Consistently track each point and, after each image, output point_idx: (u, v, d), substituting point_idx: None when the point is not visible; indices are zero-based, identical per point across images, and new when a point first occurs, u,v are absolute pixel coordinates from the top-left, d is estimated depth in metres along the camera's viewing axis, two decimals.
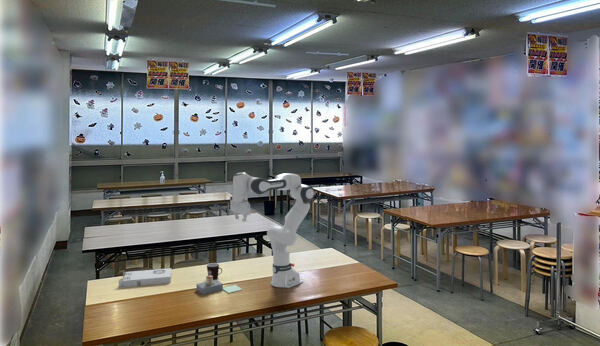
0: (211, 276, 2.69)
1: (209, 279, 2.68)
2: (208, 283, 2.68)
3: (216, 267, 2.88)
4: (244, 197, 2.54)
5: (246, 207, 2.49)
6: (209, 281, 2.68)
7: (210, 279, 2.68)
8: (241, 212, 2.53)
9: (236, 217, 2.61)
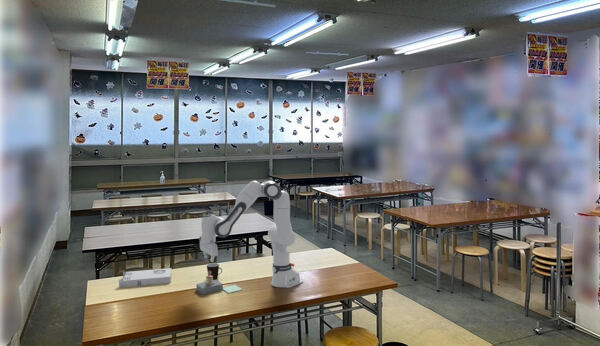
0: (211, 276, 2.69)
1: (209, 279, 2.68)
2: (208, 283, 2.68)
3: (216, 267, 2.88)
4: (212, 238, 2.64)
5: (213, 249, 2.59)
6: (209, 281, 2.68)
7: (210, 279, 2.68)
8: (209, 253, 2.63)
9: (205, 256, 2.71)
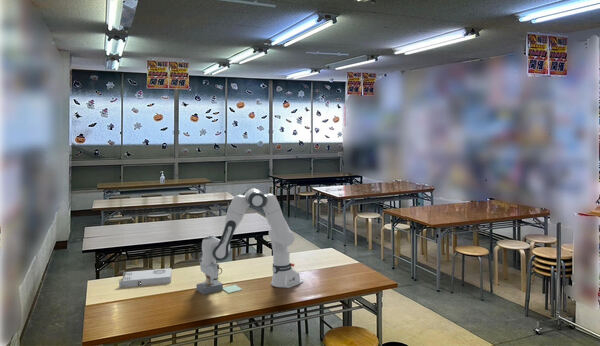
0: None
1: (209, 279, 2.68)
2: (208, 283, 2.68)
3: None
4: (212, 260, 2.65)
5: (214, 271, 2.60)
6: (209, 281, 2.68)
7: None
8: (209, 275, 2.64)
9: None
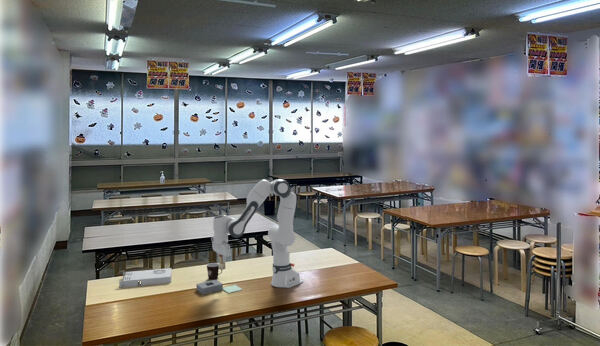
0: None
1: (221, 258, 2.67)
2: (221, 262, 2.67)
3: (216, 267, 2.88)
4: (224, 239, 2.64)
5: (226, 249, 2.60)
6: None
7: (222, 258, 2.67)
8: (222, 253, 2.64)
9: None
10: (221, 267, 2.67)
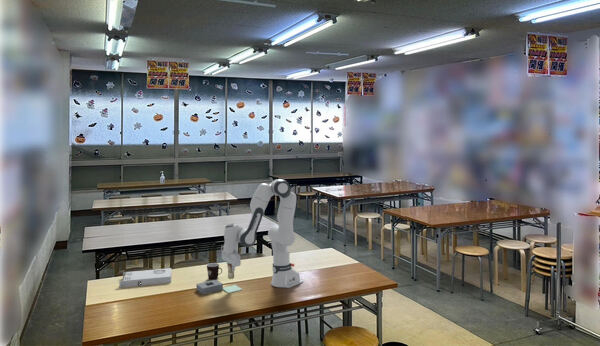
0: None
1: (231, 267, 2.67)
2: (230, 271, 2.68)
3: (216, 267, 2.88)
4: (235, 248, 2.65)
5: (236, 259, 2.60)
6: None
7: None
8: (231, 263, 2.64)
9: None
10: (230, 276, 2.68)
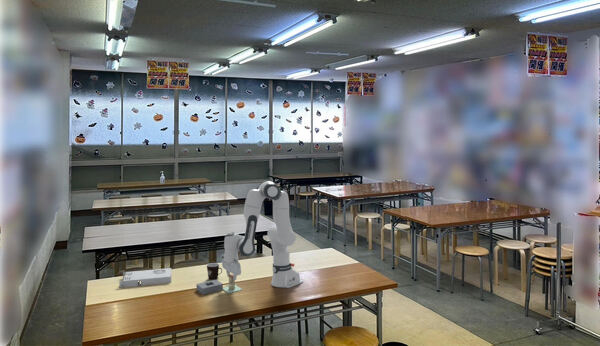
0: (233, 275, 2.70)
1: (231, 278, 2.68)
2: (230, 282, 2.68)
3: (216, 267, 2.88)
4: (235, 257, 2.66)
5: (237, 268, 2.61)
6: (231, 280, 2.68)
7: (232, 278, 2.68)
8: (232, 271, 2.65)
9: (228, 275, 2.72)
10: (231, 287, 2.69)
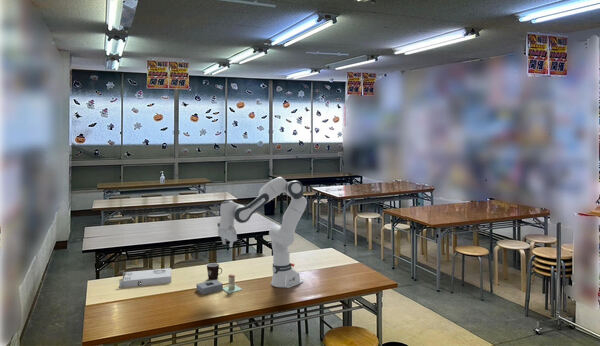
0: (233, 275, 2.70)
1: (231, 278, 2.68)
2: (230, 282, 2.68)
3: (216, 267, 2.88)
4: (231, 224, 2.69)
5: (232, 234, 2.65)
6: (231, 280, 2.68)
7: (232, 278, 2.68)
8: (228, 238, 2.68)
9: (223, 242, 2.76)
10: (231, 287, 2.69)
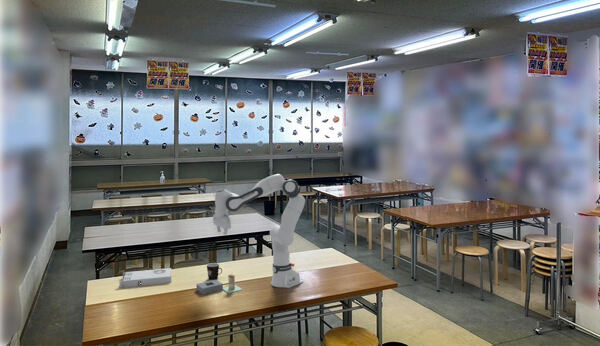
0: (233, 275, 2.70)
1: (231, 278, 2.68)
2: (230, 282, 2.68)
3: (216, 267, 2.88)
4: (225, 212, 2.78)
5: (226, 222, 2.73)
6: (231, 280, 2.68)
7: (232, 278, 2.68)
8: (222, 226, 2.77)
9: (218, 230, 2.85)
10: (231, 287, 2.69)
